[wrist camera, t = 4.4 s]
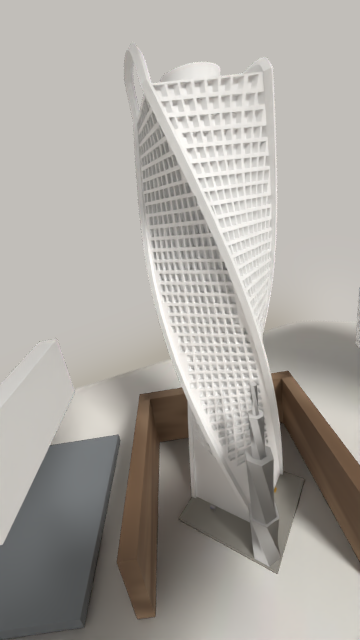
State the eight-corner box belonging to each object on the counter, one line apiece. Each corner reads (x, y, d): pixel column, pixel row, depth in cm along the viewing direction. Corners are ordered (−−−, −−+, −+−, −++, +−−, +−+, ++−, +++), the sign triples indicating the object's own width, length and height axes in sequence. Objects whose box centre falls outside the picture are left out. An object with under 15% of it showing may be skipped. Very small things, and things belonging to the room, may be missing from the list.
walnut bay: (289, 414, 29) (288, 370, 27) (390, 581, 16) (400, 518, 14) (149, 436, 29) (139, 394, 28) (137, 619, 16) (116, 562, 14)
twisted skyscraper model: (163, 513, 22) (44, 42, 12) (213, 439, 28) (161, 85, 18) (277, 577, 17) (237, -109, 7) (307, 471, 23) (307, 17, 13)
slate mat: (120, 440, 29) (118, 434, 29) (83, 627, 16) (79, 619, 16) (-37, 465, 30) (-41, 459, 29) (-198, 669, 16) (-207, 662, 16)
